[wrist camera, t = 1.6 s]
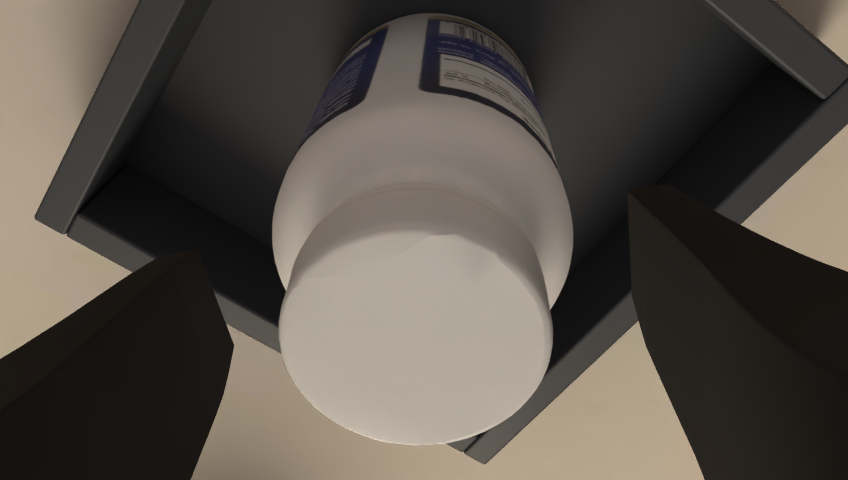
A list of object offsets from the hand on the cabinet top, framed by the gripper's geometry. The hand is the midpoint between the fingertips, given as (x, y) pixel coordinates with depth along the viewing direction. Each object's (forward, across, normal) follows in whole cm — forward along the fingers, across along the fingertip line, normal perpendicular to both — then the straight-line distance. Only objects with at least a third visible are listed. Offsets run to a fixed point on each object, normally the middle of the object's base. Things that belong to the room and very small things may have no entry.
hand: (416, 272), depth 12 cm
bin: (+8, 0, 0) cm, 8 cm away
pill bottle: (+8, 0, 0) cm, 8 cm away
